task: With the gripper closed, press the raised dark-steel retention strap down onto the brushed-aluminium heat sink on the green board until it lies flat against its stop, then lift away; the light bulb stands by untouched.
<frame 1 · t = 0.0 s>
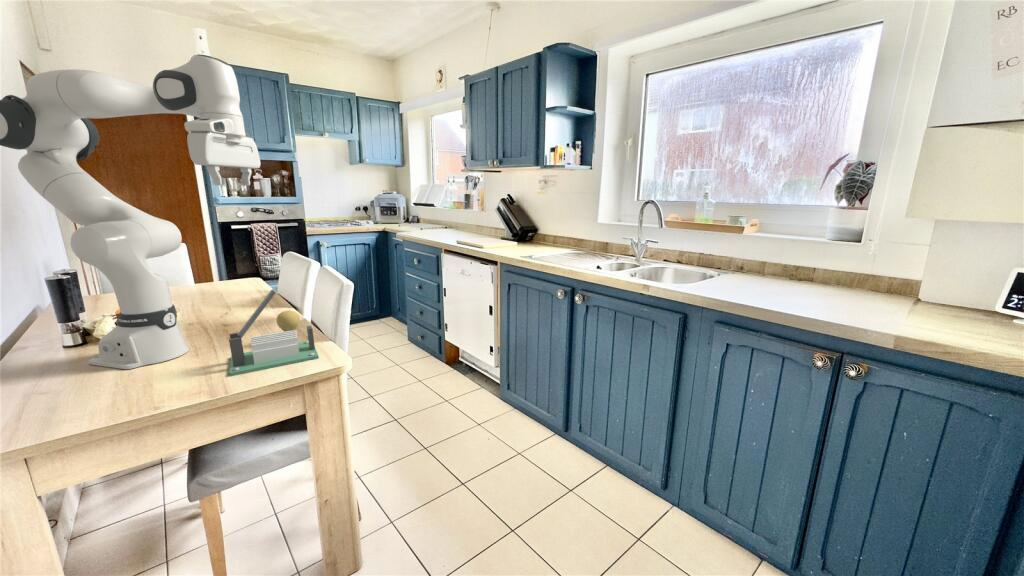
hand: (233, 185, 104), 48 cm above the table, fingers open, 8 cm apart
strap: (254, 316, 110), point 13 cm above the table, hinge at 50.0°
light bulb: (291, 341, 128), on the table
board: (239, 364, 111), on the table
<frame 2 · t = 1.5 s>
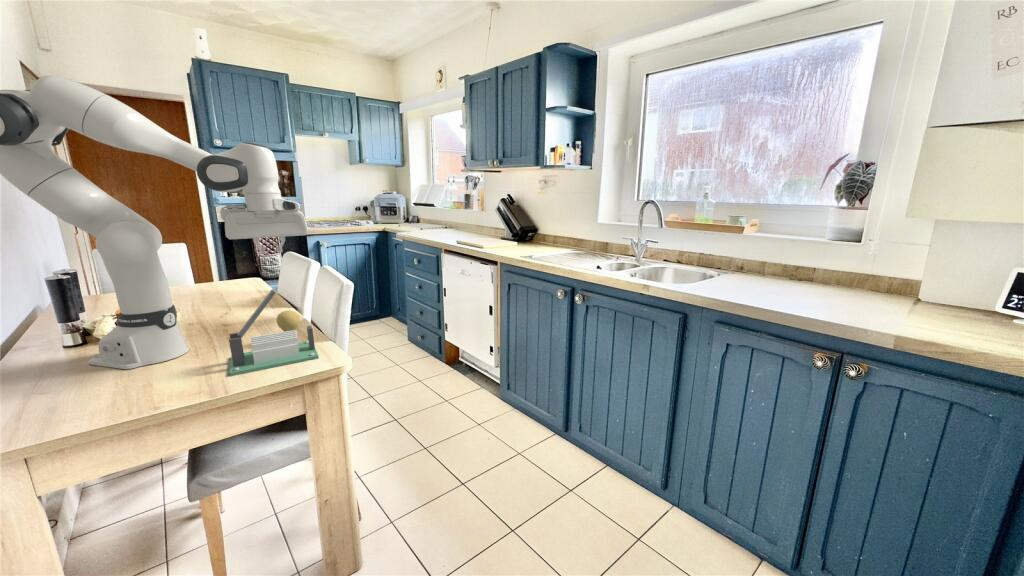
hand: (271, 252, 116), 29 cm above the table, fingers open, 3 cm apart
nothing on the table moved.
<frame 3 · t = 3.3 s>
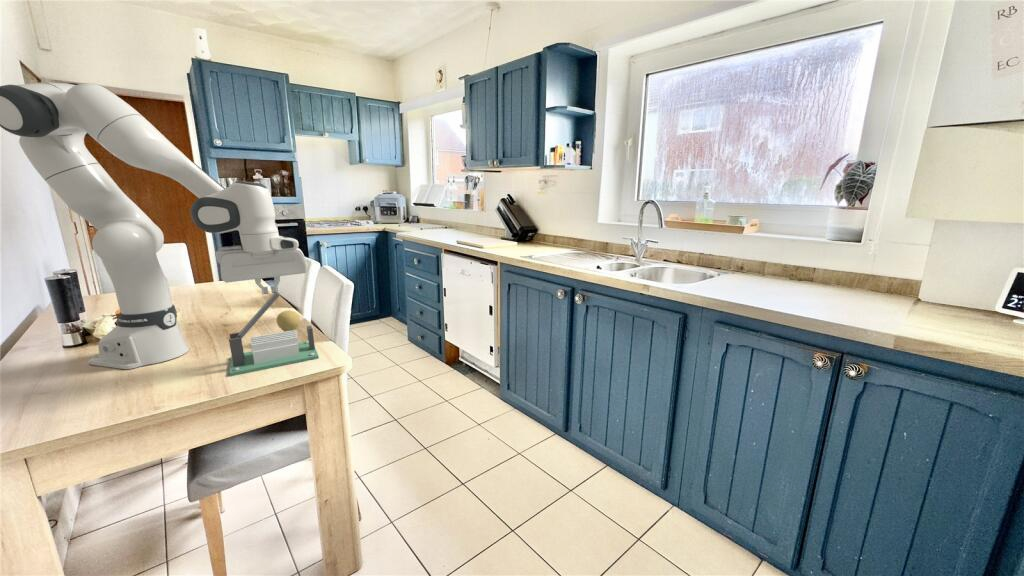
hand: (270, 293, 111), 19 cm above the table, fingers closed
strap: (256, 317, 110), point 13 cm above the table, hinge at 46.0°, touching gripper
everything else where it was.
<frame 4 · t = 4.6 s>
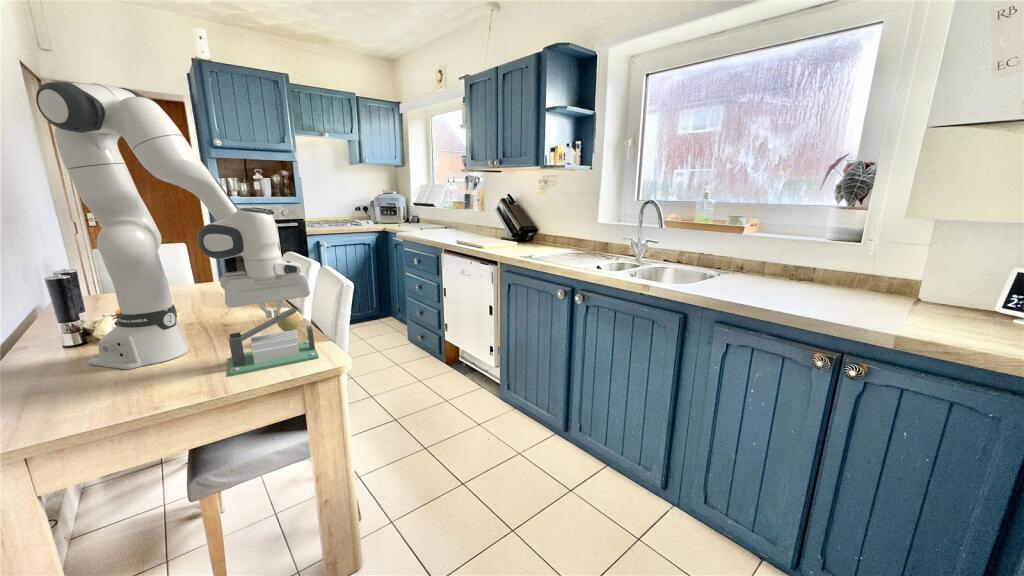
hand: (273, 316, 113), 12 cm above the table, fingers closed
strap: (265, 325, 112), point 10 cm above the table, hinge at 23.3°, touching gripper
everything else where it was.
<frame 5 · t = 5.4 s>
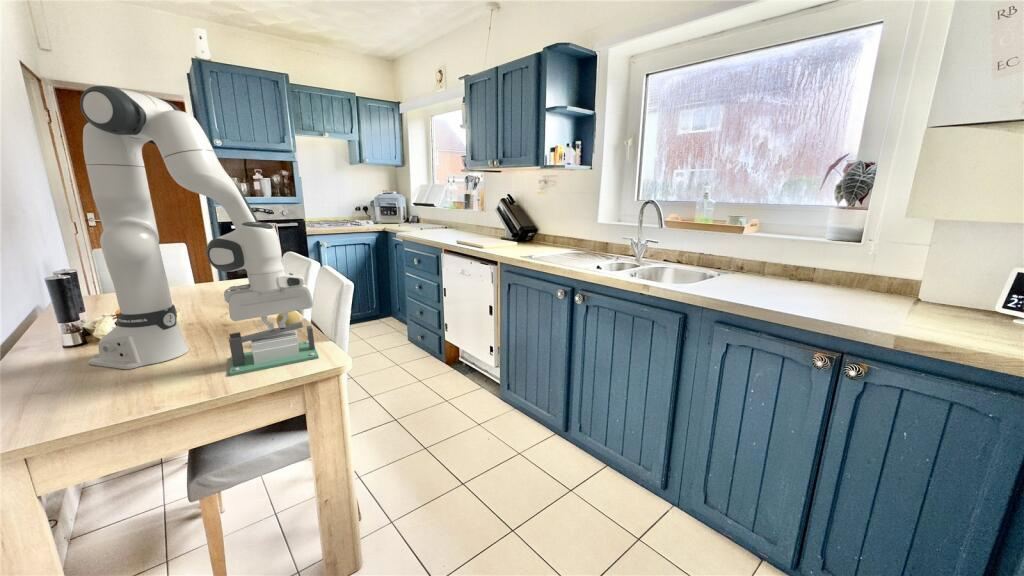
hand: (277, 328, 114), 9 cm above the table, fingers closed
strap: (269, 332, 113), point 8 cm above the table, hinge at 6.0°, touching gripper
everything else where it was.
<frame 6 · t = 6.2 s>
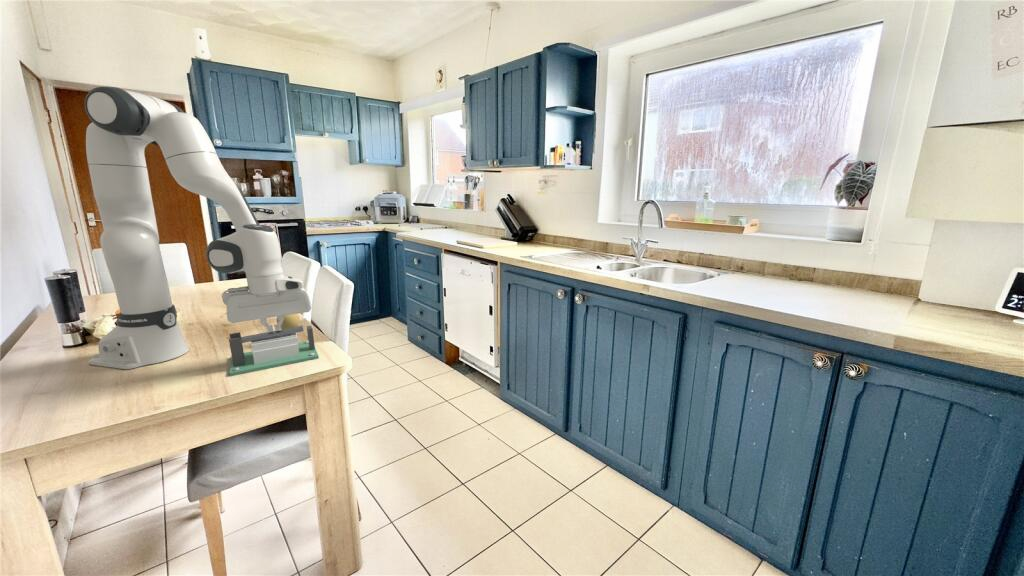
hand: (274, 331, 113), 8 cm above the table, fingers closed
strap: (269, 334, 113), point 7 cm above the table, hinge at 1.9°
everything else where it was.
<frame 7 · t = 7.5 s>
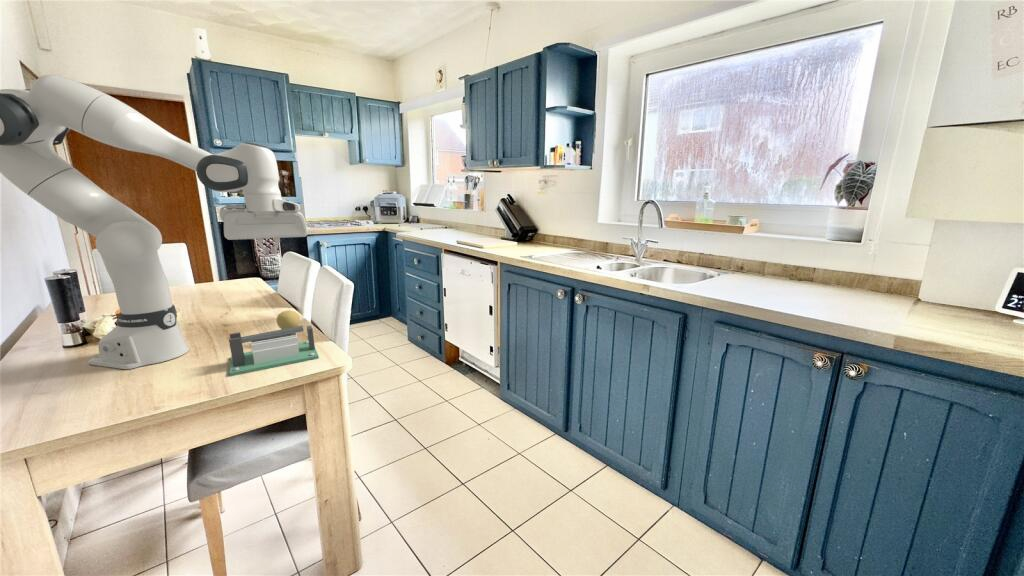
hand: (270, 253, 115), 29 cm above the table, fingers closed
nothing on the table moved.
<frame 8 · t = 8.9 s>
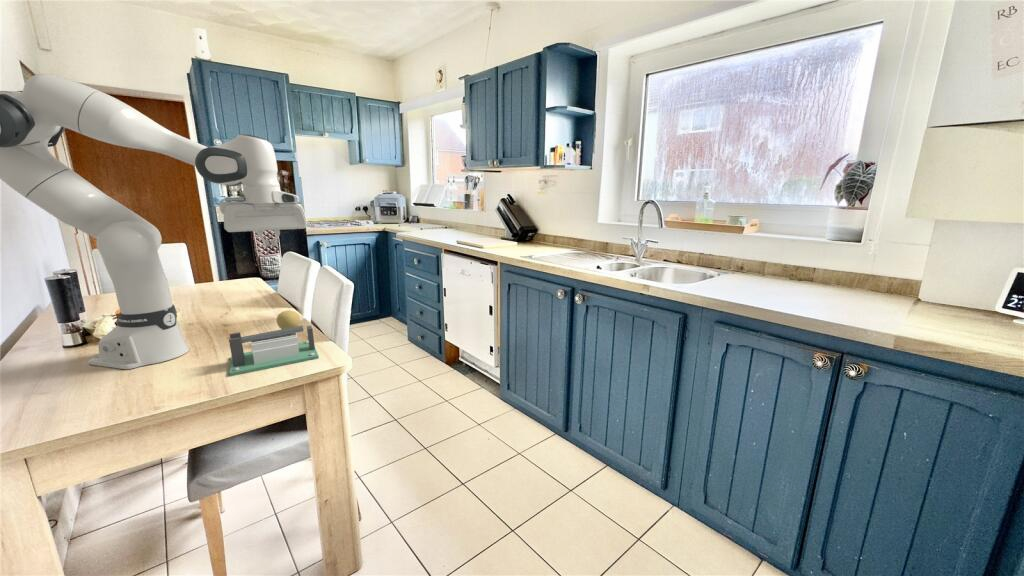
hand: (270, 246, 116), 31 cm above the table, fingers closed
nothing on the table moved.
at the end: strap at +2° (first picture: +50°); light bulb moved 0.2 cm from its start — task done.
